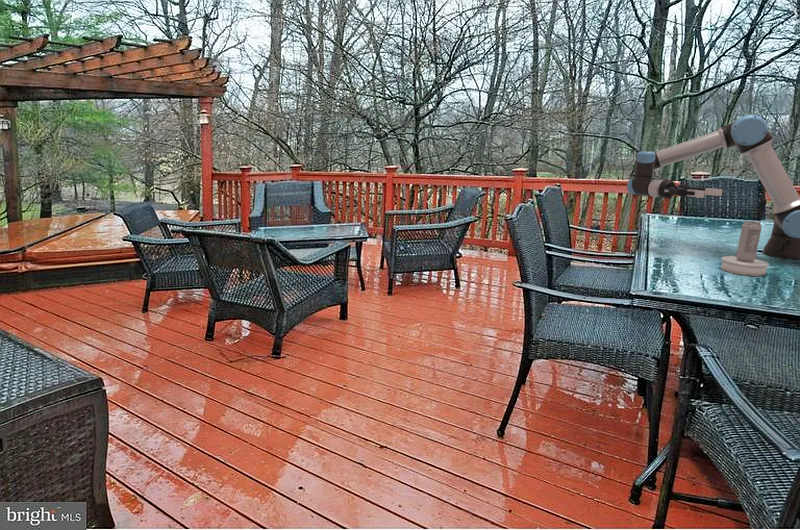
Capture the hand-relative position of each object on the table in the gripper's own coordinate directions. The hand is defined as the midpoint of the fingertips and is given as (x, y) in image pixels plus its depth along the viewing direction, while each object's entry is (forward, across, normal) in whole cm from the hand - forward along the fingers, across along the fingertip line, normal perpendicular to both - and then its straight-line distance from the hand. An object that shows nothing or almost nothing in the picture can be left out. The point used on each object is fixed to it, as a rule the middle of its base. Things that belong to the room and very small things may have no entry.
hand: (713, 193), depth 202 cm
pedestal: (+18, +6, -27) cm, 33 cm away
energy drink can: (+18, +6, -23) cm, 30 cm away
